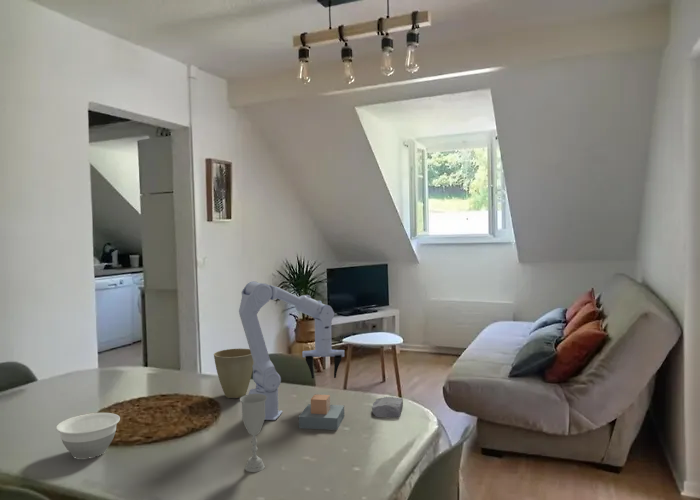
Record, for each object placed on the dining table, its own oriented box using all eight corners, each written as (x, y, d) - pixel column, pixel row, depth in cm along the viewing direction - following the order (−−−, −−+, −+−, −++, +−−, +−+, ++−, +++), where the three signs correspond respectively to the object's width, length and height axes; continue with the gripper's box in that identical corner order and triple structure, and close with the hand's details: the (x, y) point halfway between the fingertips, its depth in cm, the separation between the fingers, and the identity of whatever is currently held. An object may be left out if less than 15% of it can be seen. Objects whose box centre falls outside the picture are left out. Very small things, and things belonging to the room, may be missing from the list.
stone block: (372, 422, 173) (402, 417, 171) (369, 408, 173) (399, 403, 172) (376, 411, 185) (405, 407, 183) (373, 397, 185) (402, 393, 183)
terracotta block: (310, 413, 167) (310, 399, 166) (314, 408, 172) (314, 394, 171) (326, 414, 166) (326, 400, 166) (330, 409, 171) (330, 395, 170)
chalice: (243, 462, 141) (241, 394, 140) (269, 460, 141) (267, 393, 140) (239, 474, 133) (238, 403, 133) (267, 473, 134) (265, 402, 133)
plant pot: (264, 392, 200) (263, 350, 200) (235, 404, 188) (234, 359, 187) (235, 387, 208) (234, 346, 208) (206, 397, 196) (204, 354, 195)
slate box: (299, 429, 164) (298, 416, 164) (308, 416, 176) (308, 404, 176) (337, 431, 162) (337, 418, 162) (344, 417, 174) (344, 405, 174)
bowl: (78, 470, 137) (77, 437, 137) (45, 457, 146) (43, 426, 146) (133, 448, 151) (132, 418, 151) (99, 437, 159) (98, 408, 159)
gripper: (301, 341, 181) (302, 381, 182) (344, 340, 182) (345, 380, 182) (302, 337, 188) (303, 375, 189) (344, 336, 189) (344, 374, 189)
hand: (323, 377), depth 186 cm, fingers open, 7 cm apart
